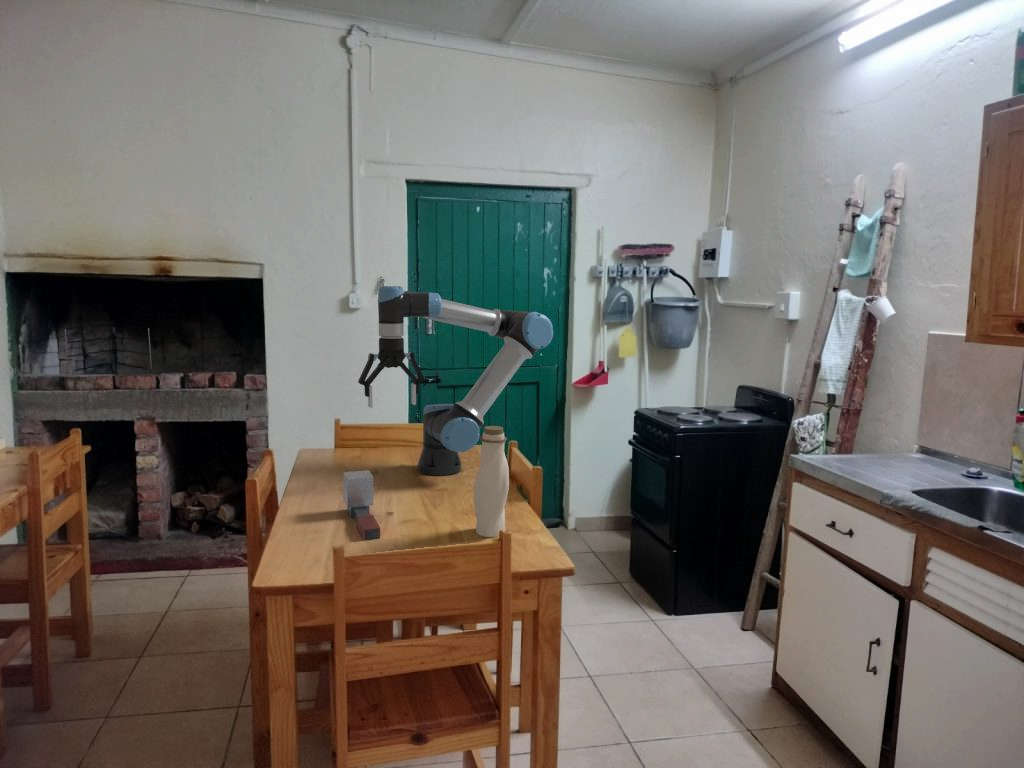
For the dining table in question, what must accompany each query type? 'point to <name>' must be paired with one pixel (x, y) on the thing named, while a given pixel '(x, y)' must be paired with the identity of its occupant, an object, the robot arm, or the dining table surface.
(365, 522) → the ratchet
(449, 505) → the dining table surface
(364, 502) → the grey stone cube
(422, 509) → the dining table surface
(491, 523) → the water bottle
